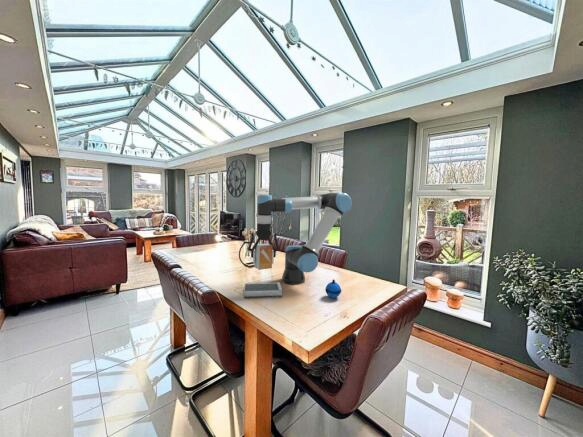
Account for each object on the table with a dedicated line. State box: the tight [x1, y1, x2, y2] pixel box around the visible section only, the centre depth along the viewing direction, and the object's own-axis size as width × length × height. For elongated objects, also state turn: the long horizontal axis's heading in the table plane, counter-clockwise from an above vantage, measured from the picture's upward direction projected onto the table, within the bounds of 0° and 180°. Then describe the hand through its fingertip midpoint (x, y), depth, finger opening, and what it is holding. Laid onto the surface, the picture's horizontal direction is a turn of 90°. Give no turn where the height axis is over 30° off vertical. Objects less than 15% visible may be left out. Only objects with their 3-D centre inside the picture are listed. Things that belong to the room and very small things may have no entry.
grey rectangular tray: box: [243, 281, 283, 299], centre depth 139 cm, size 20×13×4 cm, turn 99°
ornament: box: [325, 279, 342, 299], centre depth 136 cm, size 9×9×10 cm
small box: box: [253, 242, 274, 271], centre depth 137 cm, size 8×6×13 cm
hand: (263, 263), depth 137 cm, fingers closed on small box, 10 cm apart
